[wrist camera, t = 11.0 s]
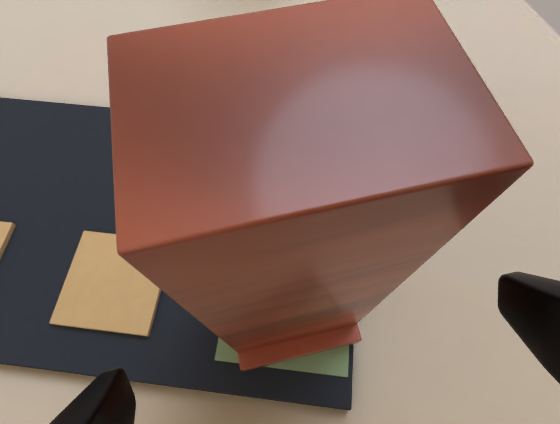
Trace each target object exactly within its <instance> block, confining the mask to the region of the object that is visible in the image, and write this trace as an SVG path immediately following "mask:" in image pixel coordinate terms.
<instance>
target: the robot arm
mask: <svg viewBox="0 0 560 424" xmlns="http://www.w3.org/2000/svg"><path fill="white" fill-rule="evenodd" d="M498 308H499V311H500V313H501V314H502V316H503V317H504V318H505V320H506V321H507V322H508V323H509V325H510V326H511V327H512V328H513V329H514V331H515V332H516V333H517V334H518V336H519V337H520V338H521V339H522V341H523V342H524V343H525V344H526V346H527V347H528V348H529V349H530V351H531V352H532V353H533V354H534V356H535V357H536V358H537V359H538V361H539V362H540V363H541V364H542V365H543V367H544V368H545V369H546V370H547V371H548V372H549V373H550V374H551V375H552V376H553V377H554V379H555V380H556V381H557V382H558V383H559V384H560V281H557V280H553V279H548V278H544V277H540V276H535V275H531V274H526V273H522V272H513V273H509V274H504V275H502V276H501V277H500V278H499V281H498ZM135 409H136V400H135V395H134V393H133V390H132V387H131V385H130V382H129V380H128V377H127V375H126V372H125V371H124V369H122V368H116V369H111V370H107V371H104V372H102V373H101V374H100V375H99V376H98V377H97V378H96V379H95V380H94V381H93V382H92V383H91V384H90V385H88V386H87V387H86V388H85V389H84V390H83V391H82V392H81V393H80V394H79V395H78V396H77V397H76V398H75V399H74V400H73V401H72V402H71V403H70V404H69V405H68V406H67V407H66V408H65V409H64V410H63V411H62V412H61V413H60V414H59V415H58V416H57V417H56V418H55V419H54V420H53V421H52V422H51V423H50V424H134V419H135Z"/></svg>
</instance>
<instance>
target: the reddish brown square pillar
mask: <svg viewBox="0 0 560 424" xmlns="http://www.w3.org/2000/svg"><path fill="white" fill-rule="evenodd" d="M107 52H108V74H109V95H110V117H111V138H112V159H113V181H114V202H115V223H116V245H117V253H118V255H119V256H121V257H122V258H123V259H124V260H125V261H127V262H128V263H129V264H130V265H132V266H133V267H134V268H135V269H136V270H138V271H139V272H140V273H141V274H142V275H144V276H145V277H146V278H147V279H149V280H150V281H151V282H152V283H153V284H155V285H156V286H157V287H158V288H160V289H161V290H162V291H163V292H164V293H166V294H167V295H168V296H169V297H170V298H172V299H173V300H174V301H175V302H177V303H178V304H179V305H180V306H181V307H183V308H184V309H185V310H186V311H187V312H189V313H190V314H191V315H192V316H194V317H195V318H196V319H197V320H198V321H200V322H201V323H202V324H203V325H205V326H206V327H207V328H208V329H209V330H211V331H212V332H213V333H214V334H215V335H217V336H218V337H219V338H220V339H222V340H223V341H224V342H225V343H226V344H228V345H229V346H230V347H231V348H233V349H234V350H235V351H236V352H237V353H238V359H239V365H240V370H241V371H248V370H252V369H256V368H260V367H264V366H267V365H271V364H275V363H279V362H283V361H287V360H291V359H295V358H299V357H303V356H307V355H311V354H315V353H319V352H323V351H327V350H331V349H335V348H339V347H343V346H347V345H351V344H355V343H358V342H359V341H361V340H362V338H361V335H360V332H359V329H358V326H357V323H358V322H359V321H360V320H361V319H362V318H363V317H364V316H366V315H367V314H368V313H369V312H370V311H371V310H372V309H373V308H374V307H376V306H377V305H378V304H379V303H380V302H381V301H382V300H383V299H385V298H386V297H387V296H388V295H389V294H390V293H391V292H392V291H393V290H395V289H396V288H397V287H398V286H399V285H400V284H401V283H402V282H404V281H405V280H406V279H407V278H408V277H409V276H410V275H411V274H412V273H414V272H415V271H416V270H417V269H418V268H419V267H420V266H421V265H422V264H424V263H425V262H426V261H427V260H428V259H429V258H430V257H431V256H433V255H434V254H435V253H436V252H437V251H438V250H439V249H440V248H441V247H443V246H444V245H445V244H446V243H447V242H448V241H449V240H450V239H452V238H453V237H454V236H455V235H456V234H457V233H458V232H459V231H460V230H462V229H463V228H464V227H465V226H466V225H467V224H468V223H469V222H470V221H472V220H473V219H474V218H475V217H476V216H477V215H478V214H479V213H481V212H482V211H483V210H484V209H485V208H486V207H487V206H488V205H489V204H491V203H492V202H493V201H494V200H495V199H496V198H497V197H498V196H500V195H501V194H502V193H503V192H504V191H505V190H506V189H507V188H508V187H510V186H511V185H512V184H513V183H514V182H515V181H516V180H517V179H518V178H520V177H521V176H522V175H523V174H524V173H525V172H526V171H527V170H529V169H530V168H531V167H532V166H533V164H534V163H533V159H532V158H531V156H530V155H529V153H528V151H527V150H526V148H525V147H524V145H523V143H522V142H521V140H520V139H519V137H518V135H517V134H516V132H515V131H514V129H513V127H512V126H511V124H510V123H509V121H508V120H507V118H506V116H505V115H504V113H503V112H502V110H501V108H500V107H499V105H498V104H497V102H496V100H495V99H494V97H493V96H492V94H491V92H490V91H489V89H488V88H487V86H486V84H485V83H484V81H483V80H482V78H481V76H480V75H479V73H478V72H477V70H476V68H475V67H474V65H473V64H472V62H471V60H470V59H469V57H468V56H467V54H466V52H465V51H464V49H463V48H462V46H461V44H460V43H459V41H458V40H457V38H456V36H455V35H454V33H453V32H452V30H451V28H450V27H449V25H448V24H447V22H446V20H445V19H444V17H443V16H442V14H441V13H440V11H439V9H438V8H437V6H436V5H435V3H434V1H433V0H326V1H320V2H314V3H308V4H302V5H295V6H289V7H283V8H277V9H271V10H265V11H258V12H252V13H246V14H240V15H234V16H227V17H221V18H215V19H209V20H203V21H197V22H190V23H184V24H178V25H172V26H166V27H159V28H153V29H147V30H141V31H135V32H129V33H122V34H116V35H110V36H108V37H107Z"/></svg>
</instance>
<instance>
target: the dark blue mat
mask: <svg viewBox="0 0 560 424" xmlns="http://www.w3.org/2000/svg"><path fill="white" fill-rule="evenodd" d="M0 364H7V365H15V366H22V367H30V368H37V369H45V370H52V371H60V372H67V373H75V374H82V375H90V376H97V377H98V376H99V375H100V374H101V373H102V372H104V371H107V370H111V369H116V368H122V369H124V371H125V372H126V375H127V377H128V380H129V381H134V382H142V383H149V384H157V385H164V386H172V387H179V388H187V389H194V390H202V391H209V392H216V393H224V394H231V395H239V396H246V397H254V398H261V399H269V400H276V401H284V402H291V403H299V404H306V405H313V406H321V407H328V408H336V409H343V410H351V401H352V370H353V344H351V345H347V346H343V347H339V348H335V349H331V350H327V351H323V352H319V353H315V354H311V355H307V356H303V357H299V358H295V359H291V360H287V361H283V362H279V363H275V364H271V365H267V366H264V367H260V368H256V369H252V370H248V371H241V370H240V365H239V359H238V353H237V352H236V351H235V350H234V349H233V348H231V347H230V346H229V345H228V344H226V343H225V342H224V341H223V340H222V339H220V338H219V337H218V336H217V335H215V334H214V333H213V332H212V331H211V330H209V329H208V328H207V327H206V326H205V325H203V324H202V323H201V322H200V321H198V320H197V319H196V318H195V317H194V316H192V315H191V314H190V313H189V312H187V311H186V310H185V309H184V308H183V307H181V306H180V305H179V304H178V303H177V302H175V301H174V300H173V299H172V298H170V297H169V296H168V295H167V294H166V293H164V292H163V291H162V290H161V289H160V288H158V287H157V286H156V285H155V284H153V283H152V282H151V281H150V280H149V279H147V278H146V277H145V276H144V275H142V274H141V273H140V272H139V271H138V270H136V269H135V268H134V267H133V266H132V265H130V264H129V263H128V262H127V261H125V260H124V259H123V258H122V257H121V256H119V255H118V253H117V245H116V223H115V202H114V181H113V159H112V138H111V117H110V108H108V107H97V106H86V105H75V104H64V103H53V102H43V101H32V100H21V99H10V98H0Z"/></svg>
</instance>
